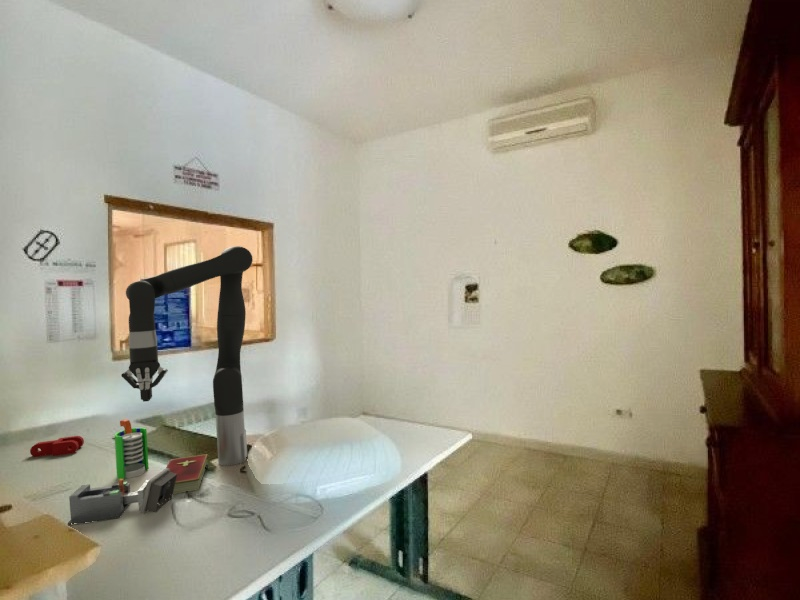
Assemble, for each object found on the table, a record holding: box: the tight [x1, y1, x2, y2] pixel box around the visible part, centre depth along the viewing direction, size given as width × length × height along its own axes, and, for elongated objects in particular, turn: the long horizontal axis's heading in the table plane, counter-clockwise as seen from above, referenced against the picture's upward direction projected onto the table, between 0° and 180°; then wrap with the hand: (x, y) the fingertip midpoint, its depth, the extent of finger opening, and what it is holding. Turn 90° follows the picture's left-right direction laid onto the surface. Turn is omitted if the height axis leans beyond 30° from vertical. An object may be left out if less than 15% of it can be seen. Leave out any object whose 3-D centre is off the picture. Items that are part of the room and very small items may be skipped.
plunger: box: [118, 479, 150, 512], centre depth 121 cm, size 13×7×8 cm, turn 103°
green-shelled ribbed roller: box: [114, 418, 149, 481], centre depth 146 cm, size 9×8×18 cm
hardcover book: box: [165, 453, 209, 495], centre depth 139 cm, size 12×21×4 cm, turn 17°
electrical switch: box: [140, 467, 177, 514], centre depth 122 cm, size 9×5×9 cm, turn 177°
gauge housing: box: [67, 481, 132, 527], centre depth 120 cm, size 12×10×7 cm
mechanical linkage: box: [29, 435, 85, 458], centre depth 169 cm, size 16×7×5 cm, turn 108°
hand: (146, 400), depth 135 cm, fingers closed
